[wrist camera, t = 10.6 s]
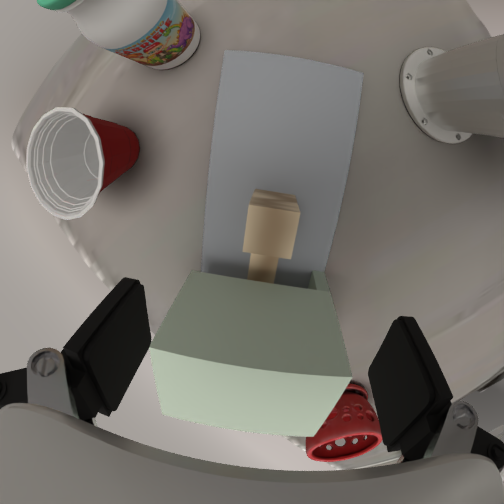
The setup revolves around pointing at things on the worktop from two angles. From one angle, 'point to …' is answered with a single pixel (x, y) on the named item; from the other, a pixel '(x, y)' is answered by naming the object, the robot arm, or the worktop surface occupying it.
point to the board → (279, 156)
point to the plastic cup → (76, 159)
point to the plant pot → (346, 428)
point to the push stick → (269, 232)
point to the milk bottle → (135, 28)
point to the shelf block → (251, 355)
